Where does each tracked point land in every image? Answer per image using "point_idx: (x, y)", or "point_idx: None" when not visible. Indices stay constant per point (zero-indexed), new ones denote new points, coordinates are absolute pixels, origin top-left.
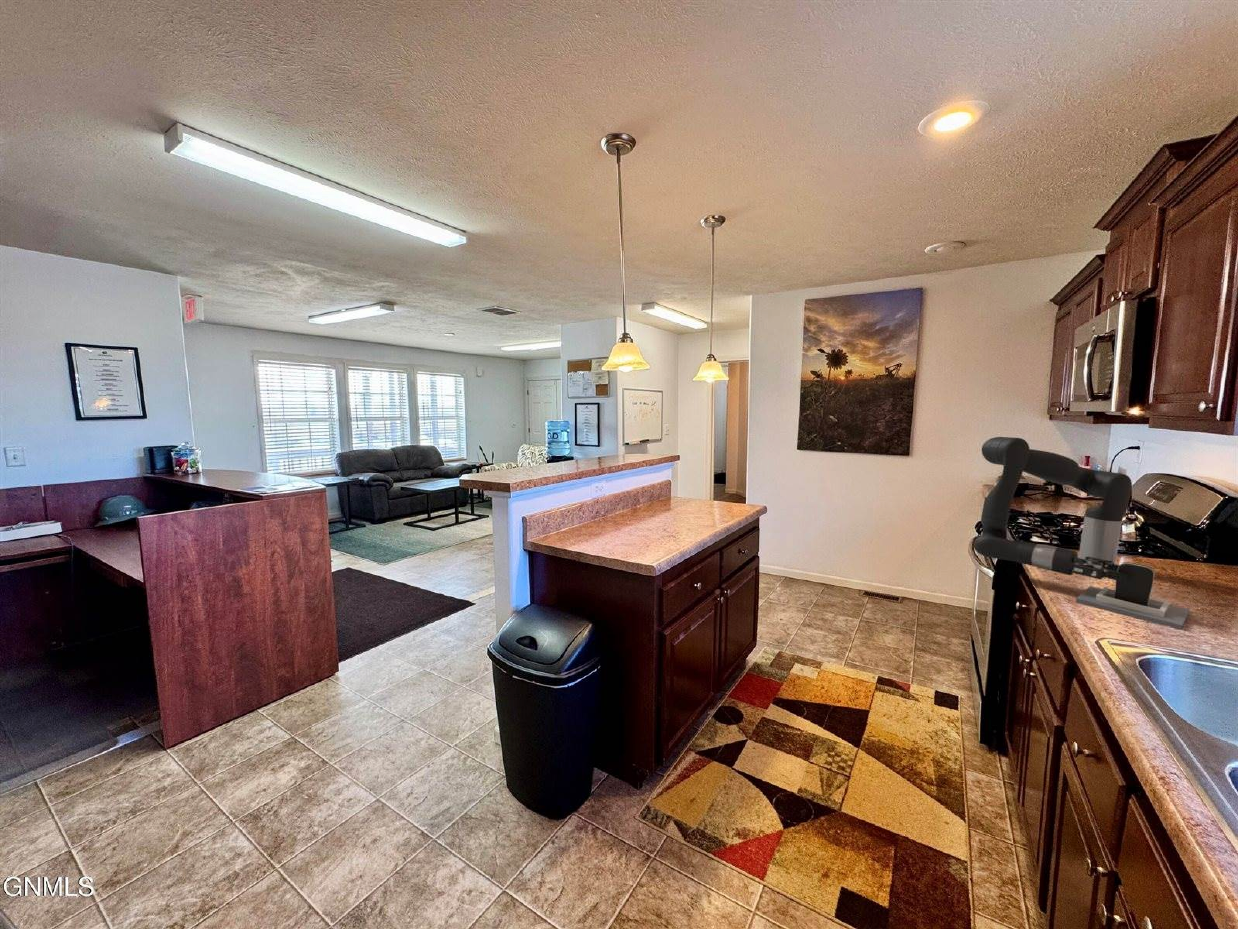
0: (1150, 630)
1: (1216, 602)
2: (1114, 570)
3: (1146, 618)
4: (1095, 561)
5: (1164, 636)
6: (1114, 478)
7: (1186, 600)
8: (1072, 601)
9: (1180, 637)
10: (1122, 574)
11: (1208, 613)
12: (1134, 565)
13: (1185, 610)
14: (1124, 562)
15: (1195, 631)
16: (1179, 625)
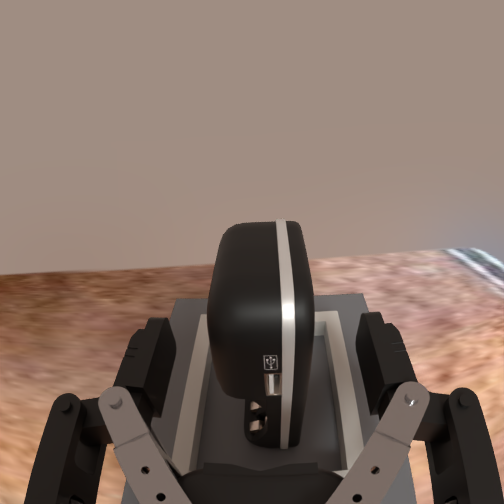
0: (446, 333)
1: (42, 283)
2: (159, 408)
3: None
4: (191, 499)
5: (451, 311)
6: None
7: (54, 315)
8: None
9: (419, 296)
10: (382, 325)
11: (137, 287)
12: (301, 252)
13: (194, 303)
14: (237, 299)
15: (335, 289)
16: (363, 298)
